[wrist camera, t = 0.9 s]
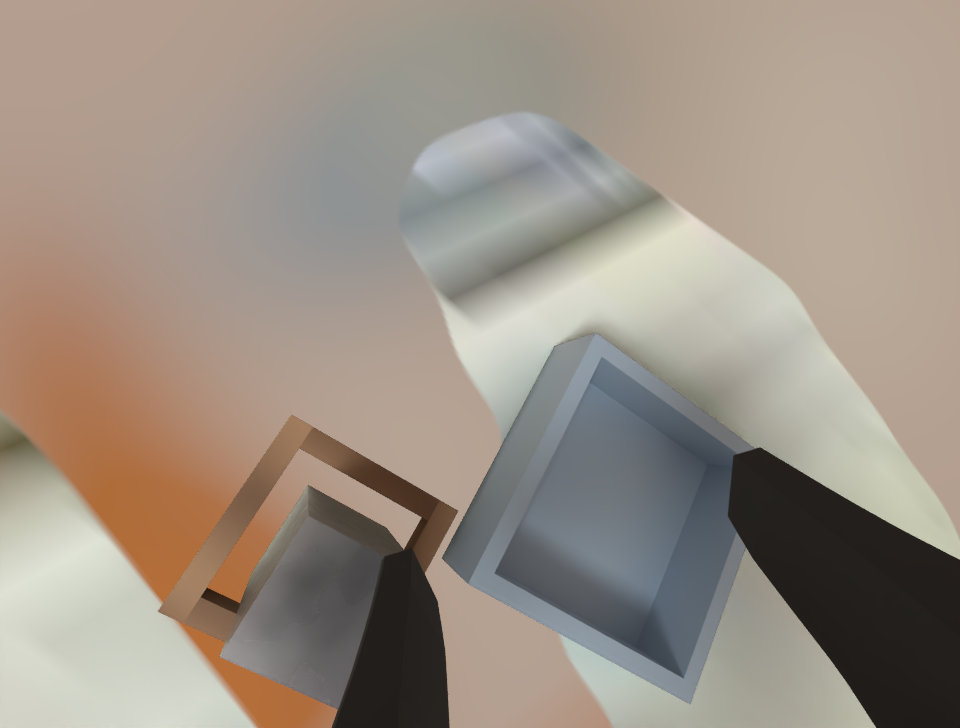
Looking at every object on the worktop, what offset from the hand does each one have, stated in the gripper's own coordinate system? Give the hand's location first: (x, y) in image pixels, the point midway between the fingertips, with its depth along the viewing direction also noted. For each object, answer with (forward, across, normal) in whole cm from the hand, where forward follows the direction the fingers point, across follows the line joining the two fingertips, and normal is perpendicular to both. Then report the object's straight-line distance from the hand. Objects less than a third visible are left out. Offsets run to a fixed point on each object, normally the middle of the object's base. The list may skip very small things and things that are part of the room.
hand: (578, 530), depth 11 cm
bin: (+10, -3, +12) cm, 16 cm away
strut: (+8, +10, +7) cm, 14 cm away
